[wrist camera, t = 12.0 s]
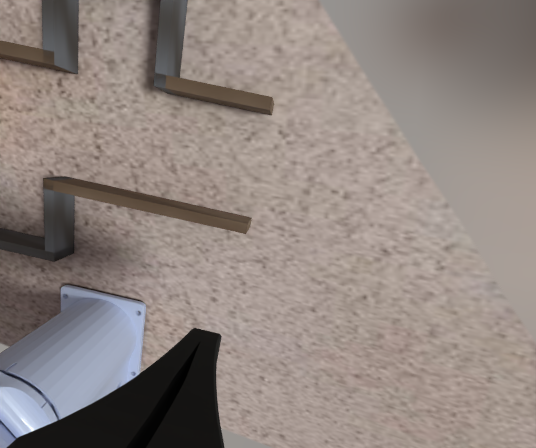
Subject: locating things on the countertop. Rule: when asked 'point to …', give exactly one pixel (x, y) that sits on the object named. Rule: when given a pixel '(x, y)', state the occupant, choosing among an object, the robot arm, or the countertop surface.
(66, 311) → the robot arm
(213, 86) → the box
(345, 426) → the countertop surface
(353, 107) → the countertop surface
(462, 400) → the countertop surface
